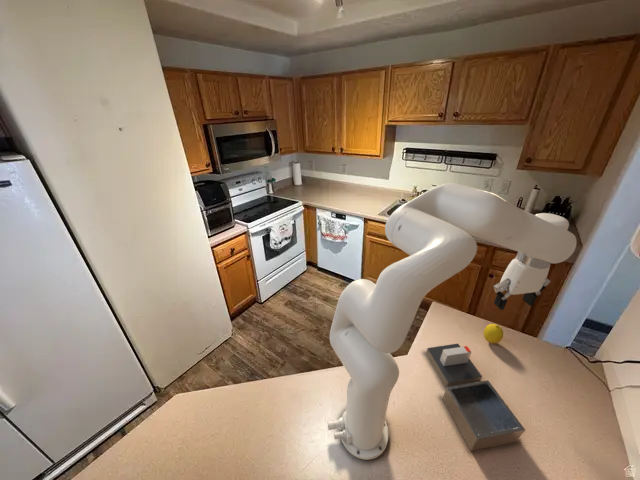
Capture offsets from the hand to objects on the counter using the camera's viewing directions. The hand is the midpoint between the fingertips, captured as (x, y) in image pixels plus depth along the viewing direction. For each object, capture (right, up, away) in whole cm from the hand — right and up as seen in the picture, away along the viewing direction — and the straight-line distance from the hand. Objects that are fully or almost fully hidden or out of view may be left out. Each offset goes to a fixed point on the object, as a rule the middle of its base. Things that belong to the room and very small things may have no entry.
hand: (512, 304), depth 79 cm
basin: (-17, -28, -10) cm, 34 cm away
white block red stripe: (-17, -18, +2) cm, 25 cm away
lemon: (+1, -16, +12) cm, 20 cm away
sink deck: (-17, -21, +4) cm, 27 cm away
